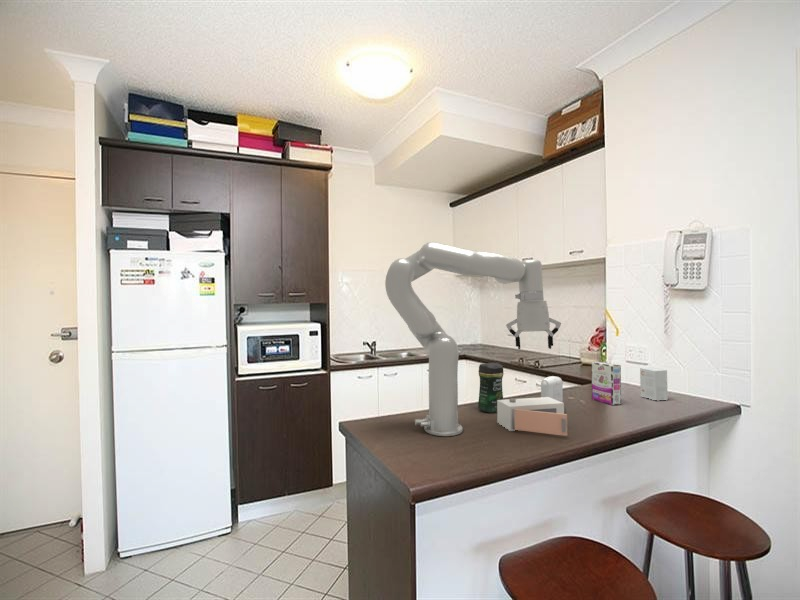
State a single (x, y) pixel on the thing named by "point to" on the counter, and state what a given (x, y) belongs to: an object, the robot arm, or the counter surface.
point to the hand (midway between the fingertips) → (534, 348)
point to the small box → (653, 383)
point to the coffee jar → (490, 386)
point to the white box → (526, 408)
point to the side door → (539, 422)
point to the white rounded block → (552, 388)
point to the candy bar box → (606, 383)
